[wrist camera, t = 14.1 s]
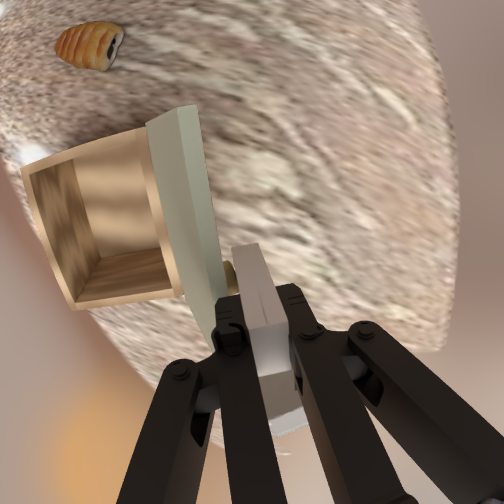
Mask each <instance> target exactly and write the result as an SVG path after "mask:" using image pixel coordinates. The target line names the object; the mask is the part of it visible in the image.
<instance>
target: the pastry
mask: <svg viewBox="0 0 504 504" xmlns="http://www.w3.org/2000/svg"><path fill="white" fill-rule="evenodd" d="M122 39H123V30H122V28H121V27H120V26H117V25H115V24H114V23H112V22H97V21H93V22H87V23H85V24H80V25H78V26H76V27H72V28H69V29H67V30H65V31H64V32H63V33H62V34H61V36H60V37H59V39H58V41H57V43H56V44H55V46H54V49H55V51H56V54H57V56H58V57H60V58H61V59H62V60H64V61H65V62H67V63H70V64H73V65H74V66H75V67H76V68H87V69H94V70H100V71H106V70H107V69H108V68H109V67H110V65H111V64H112V62H113V60H114V58H115V56H116V52H117V47H118V46H119V44H120V43H121V41H122Z"/></svg>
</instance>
